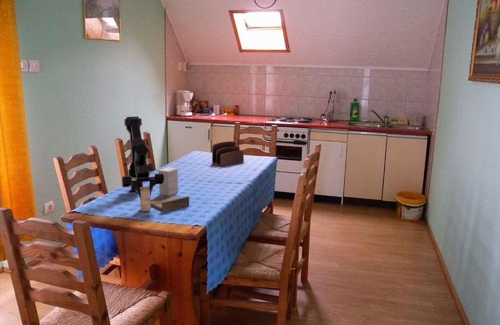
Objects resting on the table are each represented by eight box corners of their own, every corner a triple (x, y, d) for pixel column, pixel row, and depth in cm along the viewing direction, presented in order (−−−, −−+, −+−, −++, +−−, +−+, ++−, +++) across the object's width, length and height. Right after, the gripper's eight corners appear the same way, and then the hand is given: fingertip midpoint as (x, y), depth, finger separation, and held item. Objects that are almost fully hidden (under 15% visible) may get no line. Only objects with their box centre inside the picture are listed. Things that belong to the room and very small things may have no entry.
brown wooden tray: (146, 203, 206) (145, 194, 205) (170, 197, 215) (170, 189, 214) (163, 211, 194) (163, 203, 193) (189, 205, 204) (189, 196, 203)
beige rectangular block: (140, 207, 197) (139, 187, 195) (149, 206, 198) (148, 186, 196) (141, 211, 193) (140, 190, 190) (150, 210, 194) (149, 189, 192)
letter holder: (211, 163, 287) (211, 143, 284) (235, 159, 300) (235, 140, 296) (220, 166, 280) (220, 145, 276) (244, 162, 292) (244, 142, 289)
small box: (168, 190, 226) (168, 166, 223) (178, 192, 223) (178, 168, 220) (159, 194, 219) (158, 170, 216) (169, 196, 216) (168, 171, 213)
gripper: (120, 159, 190) (124, 189, 183) (162, 156, 197) (167, 185, 189) (120, 171, 199) (123, 201, 192) (160, 168, 206) (165, 197, 198)
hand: (145, 196), depth 193 cm, fingers closed on beige rectangular block, 4 cm apart
